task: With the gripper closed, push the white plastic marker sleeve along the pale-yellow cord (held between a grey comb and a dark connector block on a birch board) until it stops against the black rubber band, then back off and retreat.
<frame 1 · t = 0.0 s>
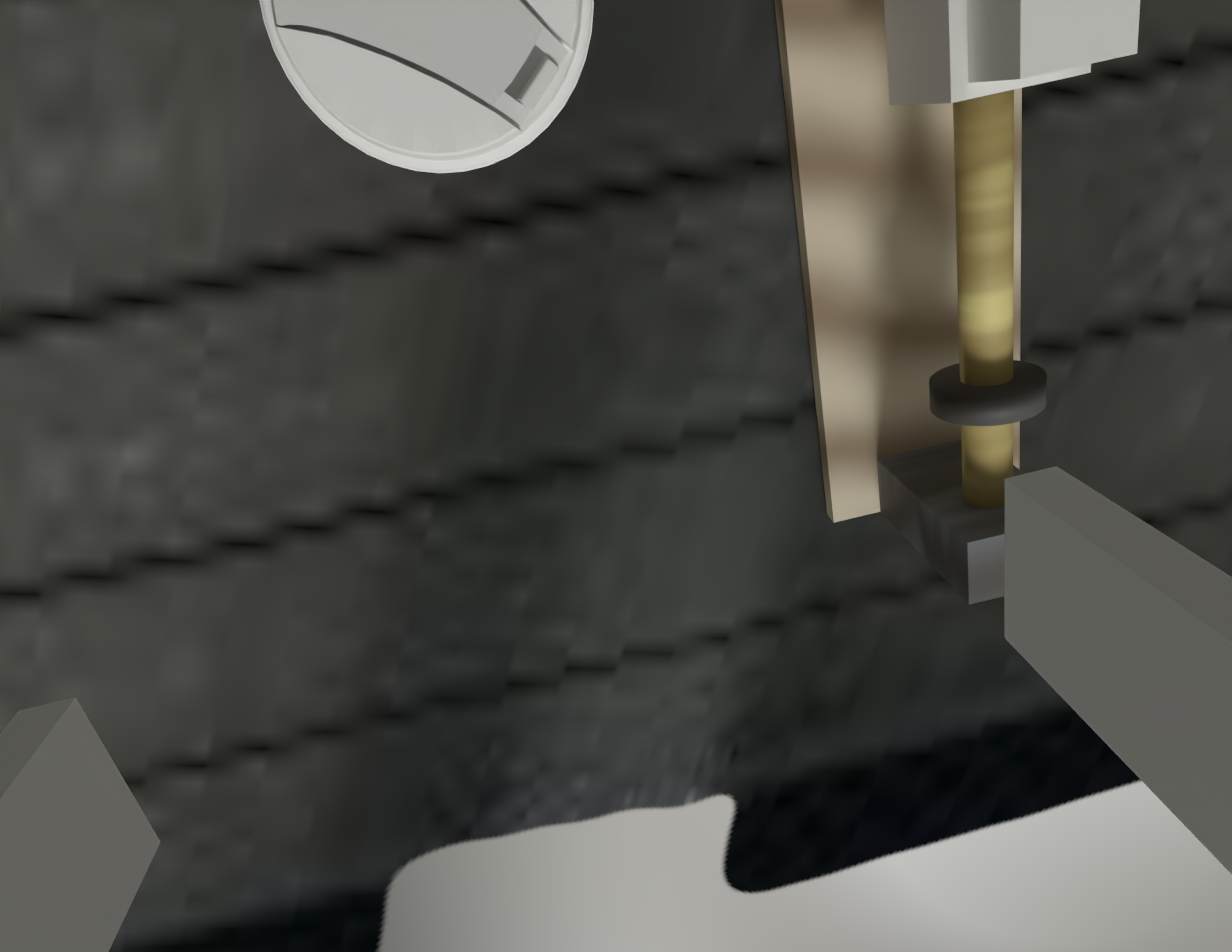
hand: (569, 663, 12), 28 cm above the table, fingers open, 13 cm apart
marker sleeve: (1006, 6, 27), point 8 cm above the table, slide at 0.0 cm
coffee cup: (456, 41, 33), on the table
cord rig: (901, 155, 37), on the table
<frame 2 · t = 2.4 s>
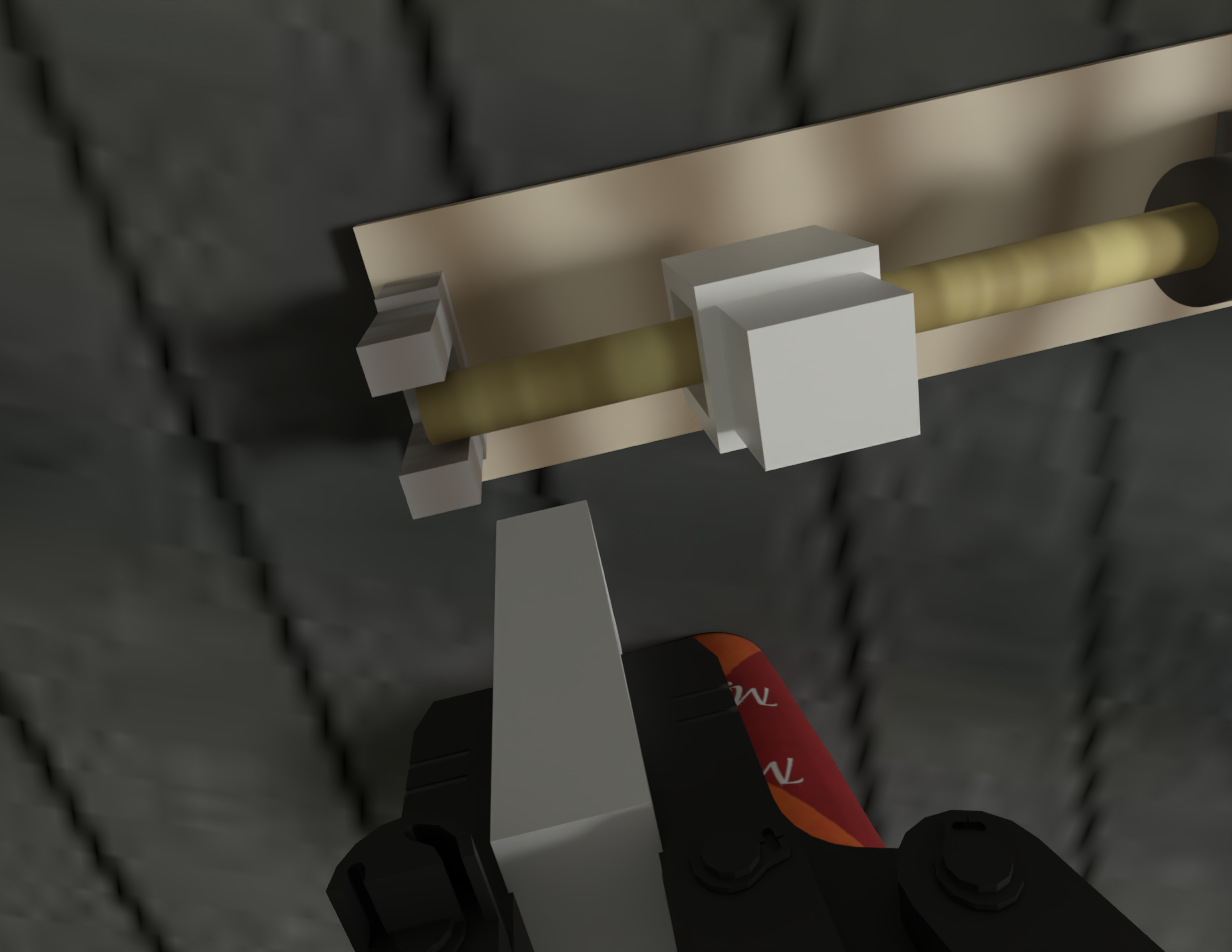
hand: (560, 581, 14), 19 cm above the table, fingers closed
marker sleeve: (785, 345, 24), point 8 cm above the table, slide at 0.0 cm
coffee cup: (706, 684, 39), on the table
cord rig: (842, 261, 31), on the table
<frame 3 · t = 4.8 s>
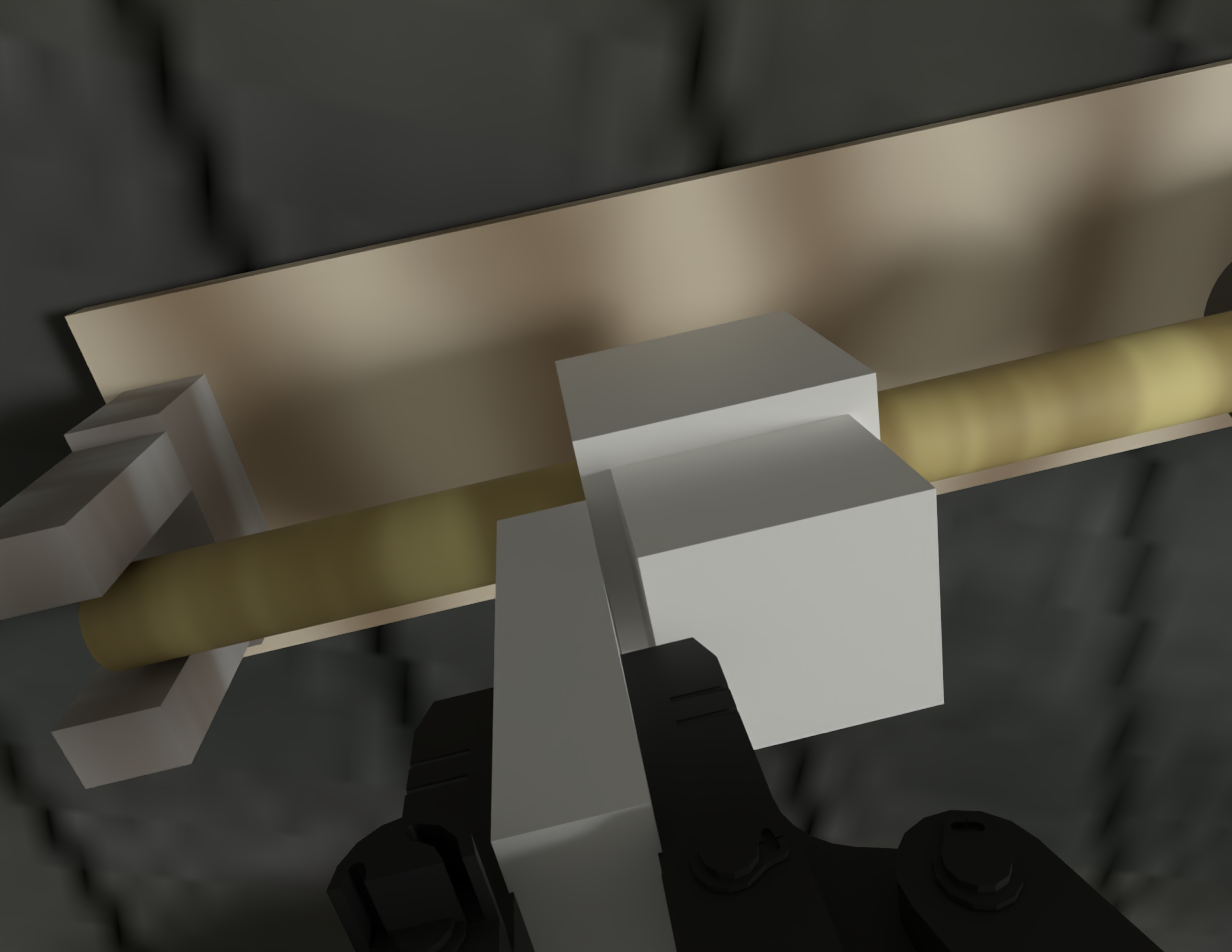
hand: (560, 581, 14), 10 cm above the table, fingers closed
marker sleeve: (731, 513, 15), point 8 cm above the table, slide at 1.4 cm, touching gripper
cord rig: (780, 351, 23), on the table
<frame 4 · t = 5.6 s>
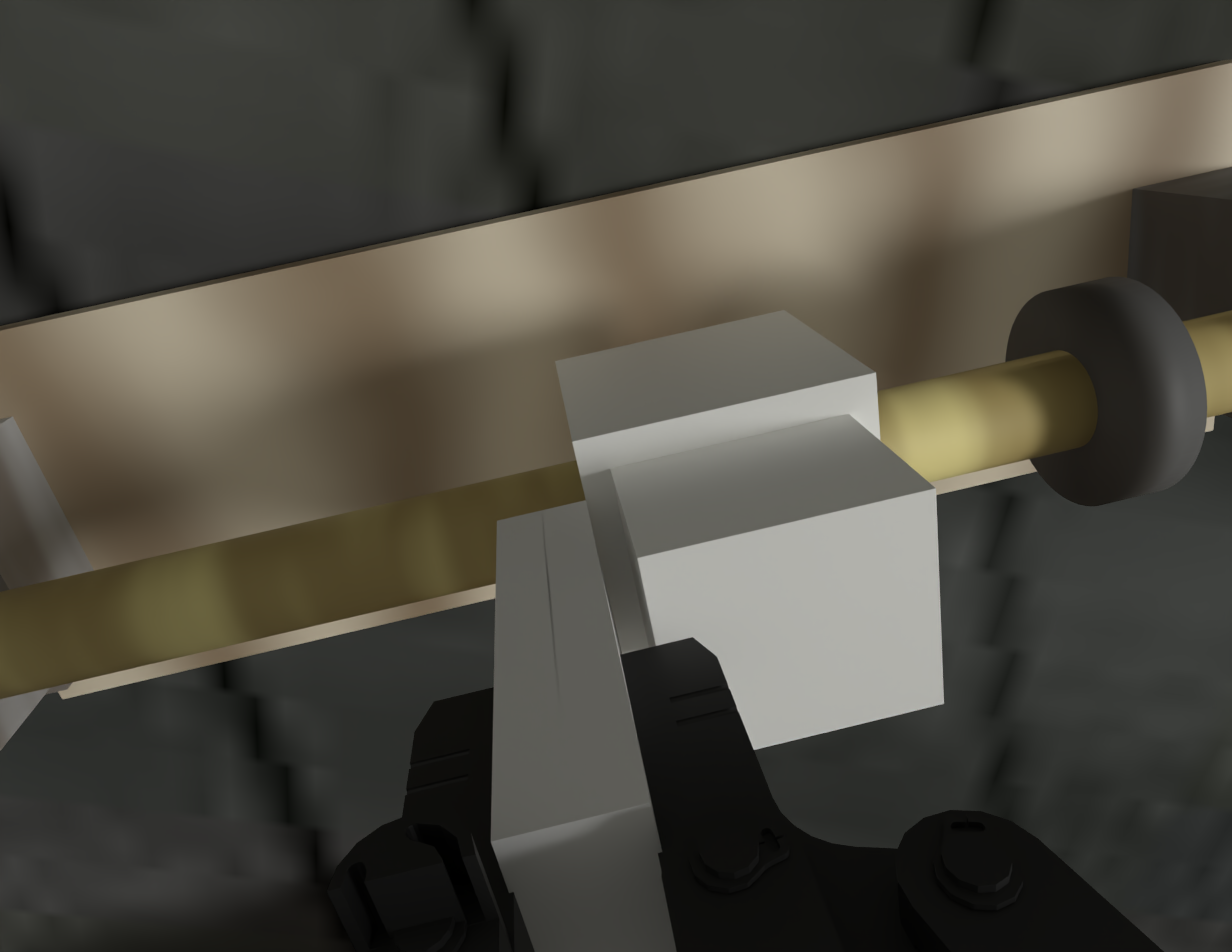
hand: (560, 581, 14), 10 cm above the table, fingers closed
marker sleeve: (731, 513, 15), point 9 cm above the table, slide at 6.1 cm, touching gripper
cord rig: (615, 388, 23), on the table
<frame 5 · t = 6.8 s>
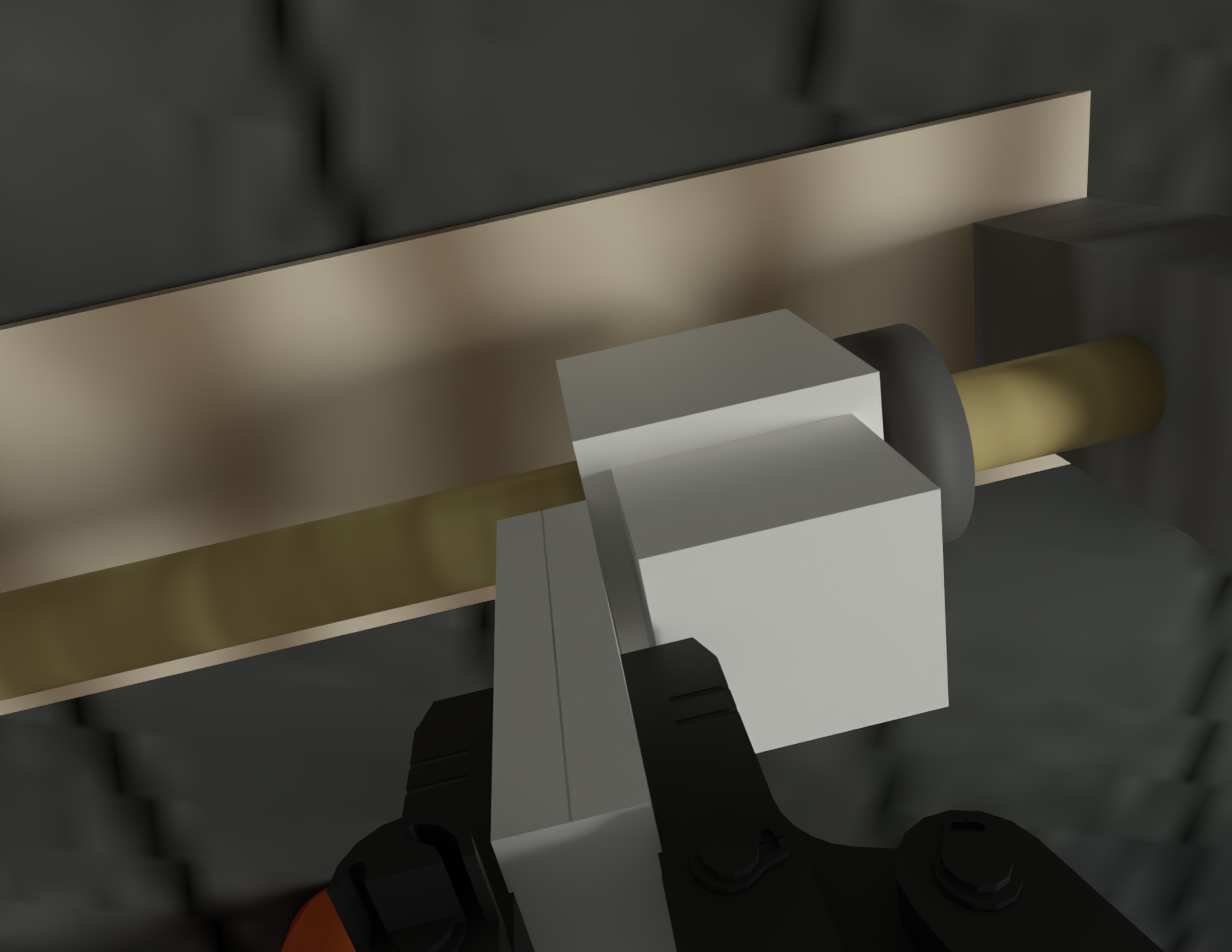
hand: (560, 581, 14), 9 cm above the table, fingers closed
marker sleeve: (732, 514, 15), point 8 cm above the table, slide at 10.4 cm, touching gripper
coffee cup: (376, 932, 30), on the table
cord rig: (459, 423, 23), on the table
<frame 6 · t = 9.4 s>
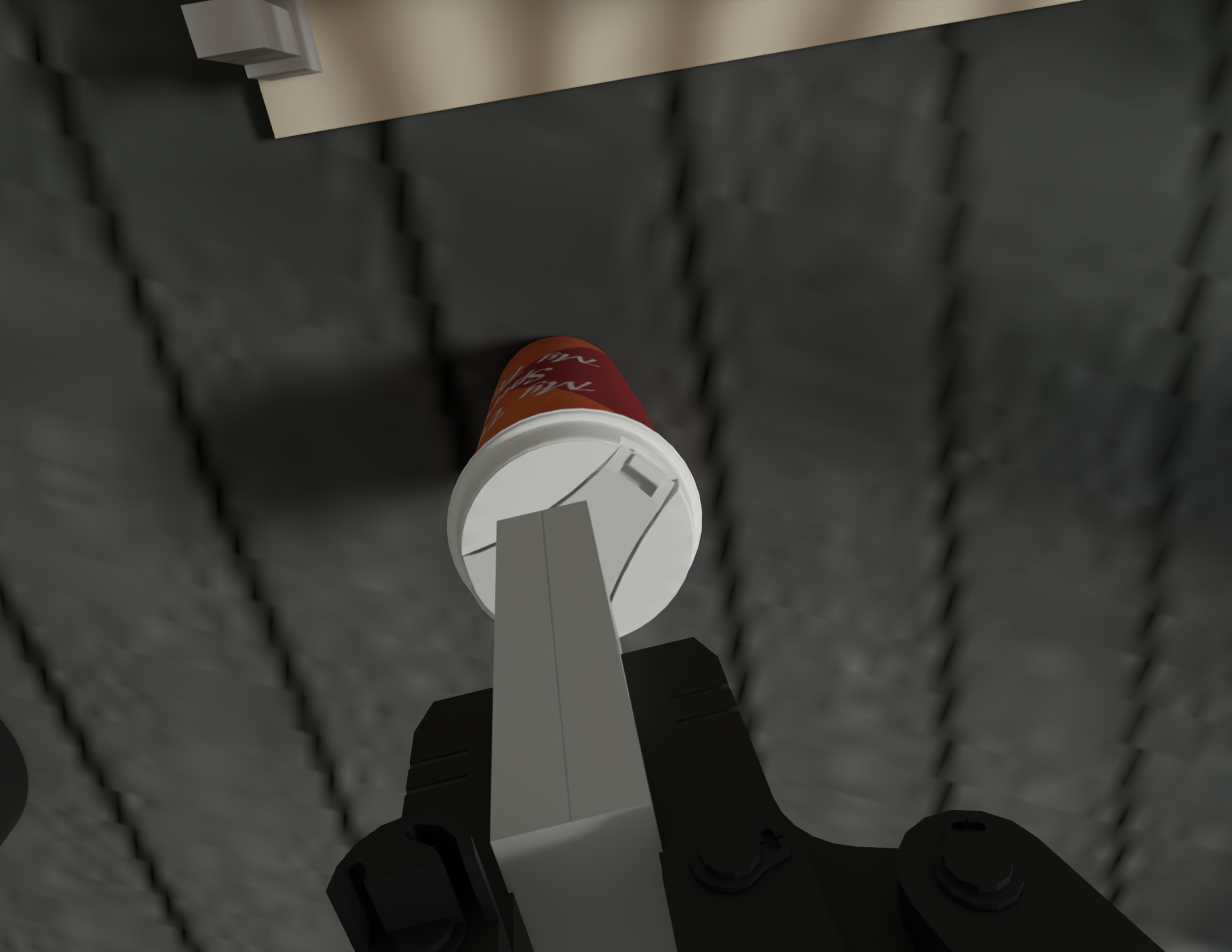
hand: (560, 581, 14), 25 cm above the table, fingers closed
coffee cup: (559, 396, 39), on the table
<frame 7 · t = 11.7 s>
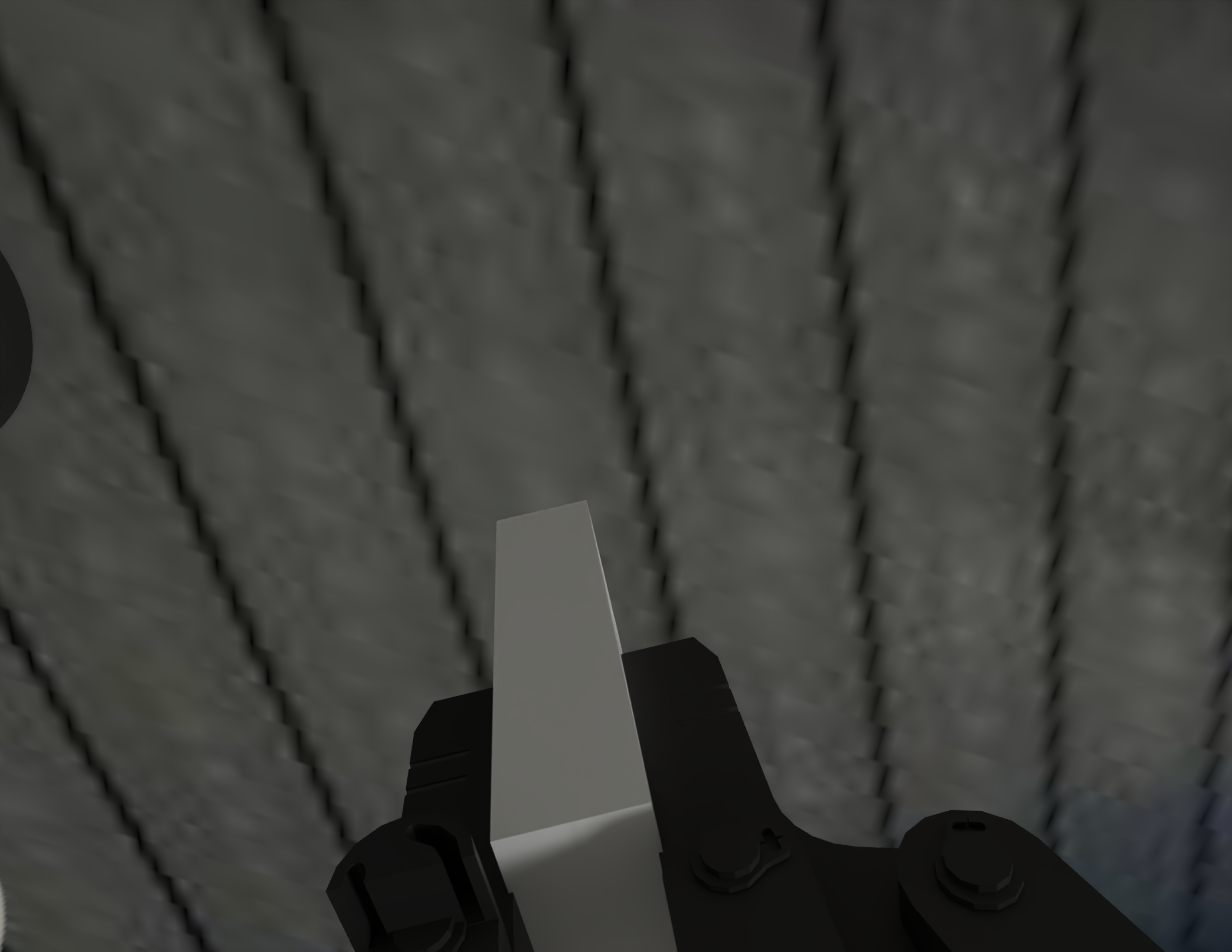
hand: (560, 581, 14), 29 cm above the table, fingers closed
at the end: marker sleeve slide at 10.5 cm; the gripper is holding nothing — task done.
